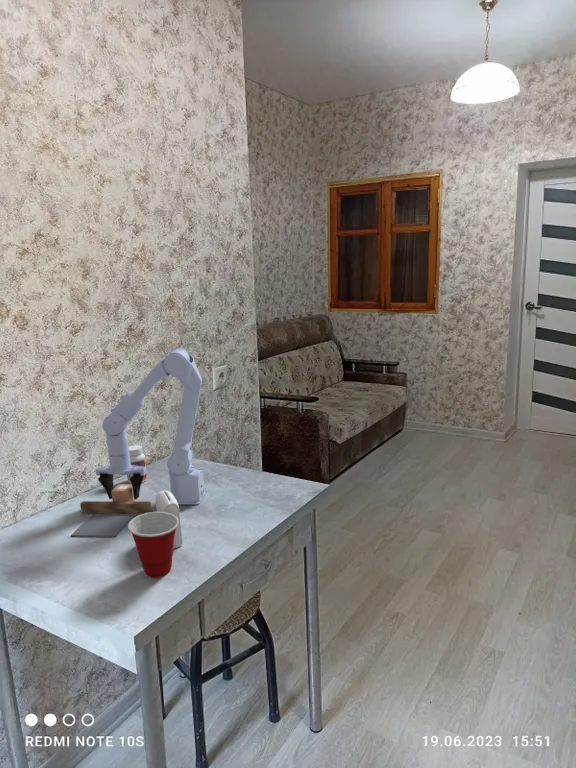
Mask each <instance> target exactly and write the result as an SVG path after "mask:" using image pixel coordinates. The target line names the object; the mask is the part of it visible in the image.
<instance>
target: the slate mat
mask: <svg viewBox="0 0 576 768" xmlns="http://www.w3.org/2000/svg"><path fill="white" fill-rule="evenodd" d="M134 516H135V514H90V516H89V517H88V518H87V519H86V520H85V521H84V522H83V523H82V524H81V525H80V526H79V527H77V529H76V530H75V531H73V532H72V533H71V534H70V537H71V538H72V537H73V538H75V537H76V538H78V537H80V538H81V537H83V538H89V537H90V538H116V537H117V536H118V535H119V534H120V532H121V531H122V530H124V528H125V527H126V526H127V525H128V524H129V522H130V521H131V520H132V519H133V518H134Z"/></svg>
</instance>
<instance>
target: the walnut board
mask: <svg viewBox="0 0 576 768" xmlns="http://www.w3.org/2000/svg"><path fill="white" fill-rule="evenodd" d="M79 504H80V505H79V506H80V511H81V512H80V513H81V514H88V515H89V514H90V515H92V514H134V515H142V514H145V513H150V512H152V504H151V501H137V500H136V501H107V500H105V501H104V500H103V501H101V500H100V501H99V500H98V501H95V500H94V501H89V500H88V501H86V500H85V501H81V502H80V503H79Z"/></svg>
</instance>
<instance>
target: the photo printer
mask: <svg viewBox="0 0 576 768" xmlns="http://www.w3.org/2000/svg"><path fill="white" fill-rule="evenodd" d="M155 505H156V512H167V513H170V514H173V515H175V516H176V517H177V518H178V520H179V524H178V526H177V527H176V531H175V536H174V547H173V549H177V548H180V547H181V546H182V545H183V533H182V524H181V515H180V508H179V507H180V506H179V505H180V504H178V503H177V500H176V499H175V497H174V496H173V494H172V493H171V491H169V490H166V489H165V490H160V491H159V492H157V493H156V495H155Z"/></svg>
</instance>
